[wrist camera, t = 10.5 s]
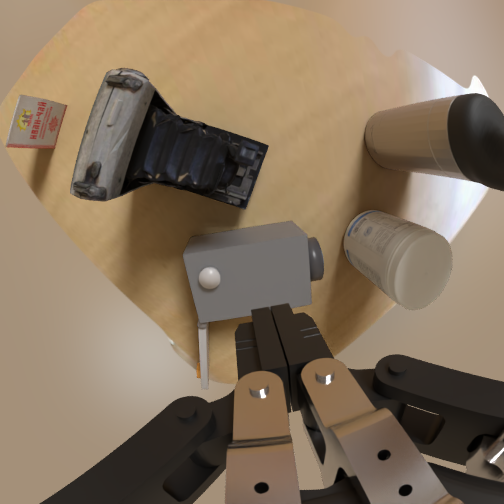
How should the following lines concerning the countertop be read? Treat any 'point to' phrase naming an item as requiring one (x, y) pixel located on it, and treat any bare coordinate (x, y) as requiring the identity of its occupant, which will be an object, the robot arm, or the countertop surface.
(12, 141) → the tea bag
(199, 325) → the side door
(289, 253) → the camera housing
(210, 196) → the vintage camera
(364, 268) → the supplement tub
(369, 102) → the countertop surface
